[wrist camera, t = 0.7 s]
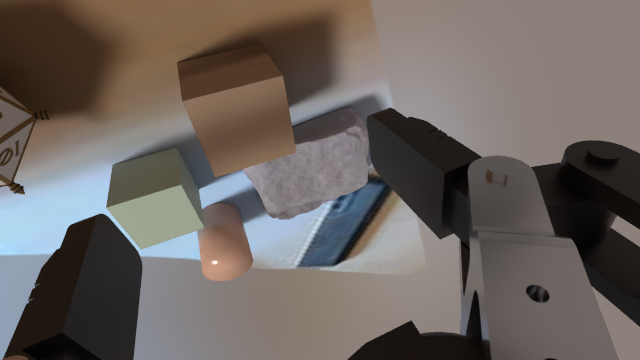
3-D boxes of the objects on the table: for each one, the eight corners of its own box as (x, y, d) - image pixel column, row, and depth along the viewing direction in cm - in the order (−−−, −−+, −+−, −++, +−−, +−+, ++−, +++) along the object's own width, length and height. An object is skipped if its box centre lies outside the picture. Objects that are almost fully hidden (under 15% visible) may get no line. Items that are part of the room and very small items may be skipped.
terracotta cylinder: (189, 211, 31) (194, 261, 27) (234, 196, 32) (246, 242, 28) (204, 238, 34) (211, 286, 30) (245, 224, 35) (257, 269, 31)
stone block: (356, 159, 38) (353, 94, 29) (374, 191, 35) (377, 129, 27) (260, 196, 36) (229, 140, 28) (272, 232, 34) (241, 181, 25)
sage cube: (112, 164, 25) (106, 207, 22) (177, 146, 26) (180, 184, 23) (142, 206, 29) (140, 249, 25) (198, 188, 30) (204, 227, 26)
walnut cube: (176, 62, 22) (182, 101, 18) (260, 43, 24) (283, 75, 19) (205, 132, 27) (215, 177, 22) (275, 113, 28) (296, 152, 24)
